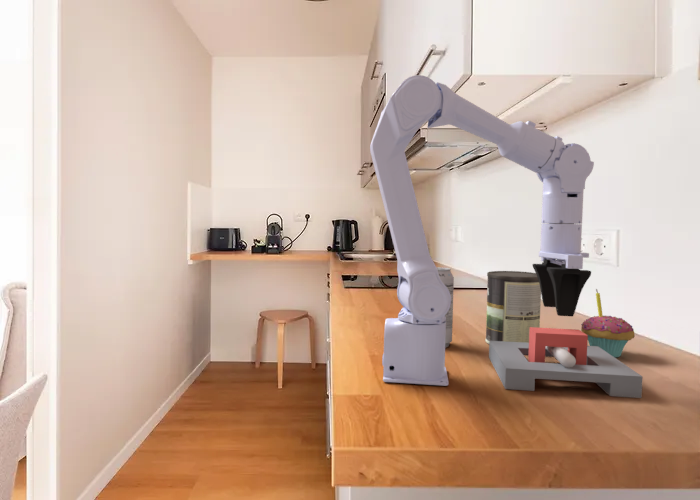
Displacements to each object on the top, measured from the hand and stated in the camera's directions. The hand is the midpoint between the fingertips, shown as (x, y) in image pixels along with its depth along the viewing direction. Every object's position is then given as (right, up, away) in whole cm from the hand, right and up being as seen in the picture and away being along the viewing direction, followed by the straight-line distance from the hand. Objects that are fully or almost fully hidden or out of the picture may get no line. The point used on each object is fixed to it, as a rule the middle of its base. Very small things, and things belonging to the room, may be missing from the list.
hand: (557, 311), depth 71 cm
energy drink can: (-16, -9, +18) cm, 26 cm away
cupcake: (+15, -10, +13) cm, 22 cm away
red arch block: (0, -9, +1) cm, 9 cm away
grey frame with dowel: (0, -10, +1) cm, 10 cm away
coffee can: (0, -9, +20) cm, 22 cm away
